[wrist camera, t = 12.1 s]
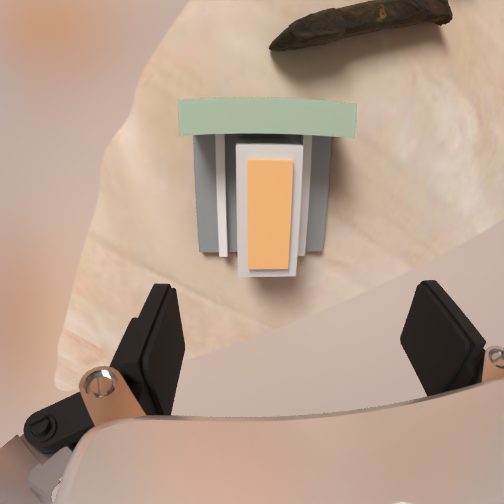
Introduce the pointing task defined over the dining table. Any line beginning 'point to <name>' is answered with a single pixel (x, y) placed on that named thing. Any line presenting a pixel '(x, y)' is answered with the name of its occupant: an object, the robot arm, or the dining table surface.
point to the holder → (268, 206)
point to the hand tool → (360, 21)
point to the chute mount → (260, 126)
